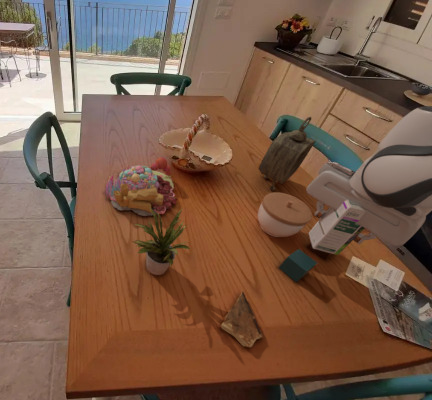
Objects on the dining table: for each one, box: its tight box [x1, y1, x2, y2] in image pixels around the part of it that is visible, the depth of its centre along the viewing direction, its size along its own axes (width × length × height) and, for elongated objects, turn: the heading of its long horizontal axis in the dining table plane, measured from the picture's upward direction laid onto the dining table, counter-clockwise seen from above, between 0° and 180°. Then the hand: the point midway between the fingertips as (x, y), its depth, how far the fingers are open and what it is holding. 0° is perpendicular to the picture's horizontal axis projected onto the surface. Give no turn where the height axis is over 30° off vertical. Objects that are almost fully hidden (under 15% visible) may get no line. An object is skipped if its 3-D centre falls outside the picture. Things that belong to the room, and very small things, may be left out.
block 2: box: [307, 242, 333, 260], centre depth 74 cm, size 5×5×5 cm
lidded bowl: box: [257, 191, 313, 238], centre depth 78 cm, size 13×13×11 cm
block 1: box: [278, 248, 318, 283], centre depth 69 cm, size 5×5×5 cm
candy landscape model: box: [105, 157, 178, 217], centre depth 87 cm, size 25×24×9 cm
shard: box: [220, 291, 264, 348], centre depth 59 cm, size 11×8×2 cm
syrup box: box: [308, 200, 366, 256], centre depth 63 cm, size 6×6×14 cm
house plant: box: [131, 207, 191, 276], centre depth 64 cm, size 14×14×16 cm
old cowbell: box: [258, 116, 316, 192], centre depth 91 cm, size 14×9×25 cm, turn 131°
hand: (336, 228), depth 64 cm, fingers closed on syrup box, 8 cm apart
